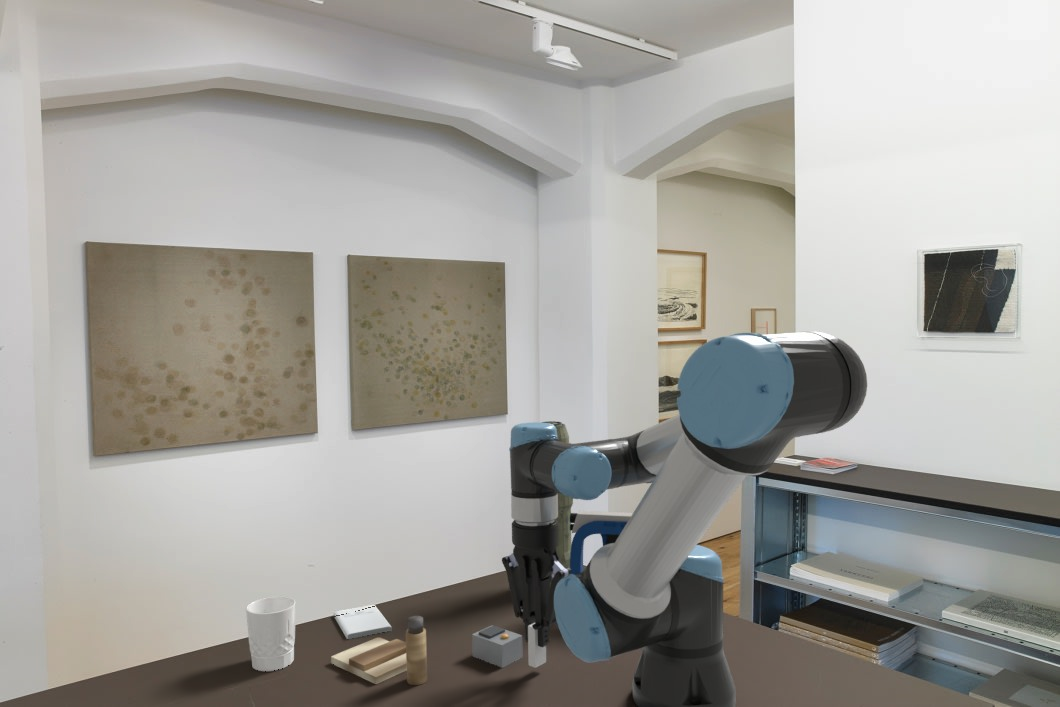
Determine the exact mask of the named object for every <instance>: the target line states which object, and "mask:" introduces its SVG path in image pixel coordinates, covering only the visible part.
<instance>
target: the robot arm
mask: <svg viewBox="0 0 1060 707" xmlns="http://www.w3.org/2000/svg"><path fill="white" fill-rule="evenodd" d="M676 389H677V390H678V391H679V392H680V396H678V397H677V398H676V404H677V409H678V413H679V414H677V415H675V416H672V417H670V418H668V419H665V420H663V421H661V422H659V423H657V424H654V425H652V426H650V427H647V428H645V429H644V430H642V431H639V432H637V433H635V434H632V435H629V436H625V437H624V436H623V437H619V438H610V439H604V440H603V439H602V440H593V441H585V442H579V443H571V442H569V443H564V442H560V441H558V436H557V429H556V427H555V426H554V425H553V424H550V423H541V422H524V423H523V422H522V423H517V424H515V425H514V426H513V427H512V428H511V430H510V447H509V449H508V450H509V462H510V463H509V465H510V467H509V468H510V489H511V490H510V491H511V493H510V496H511V497H510V498H511V500H510V501H511V503H510V509H511V511H510V512H511V514H510V515H511V518H512V519H513V521H512V522H511V541H512V545H514V547H513V550H512V553H511V554H509V555H506V556H504V557H502V558H501V563H502V564H503V567H504V569H505V572H506V574H507V575H506V576H507V580H508V588H509V592H510V595H511V602H512V607H513V612H514V616H515V617H516V618H517V619H518V618H521V619H522V621H523V623H524V632H525V634H524V638H525V642H526V643H528V644H527V648H528V649H527V652H528V654H527V658H528V666H530V667H531V668H535V669H536V668H538V667H539V666H542V665H543V664H546V663H547V646H548V645H549V643H550V630H549V629H550V628H549V627H551V626H553V625H555V624H557V626H558V629H559V631H560V632H559V633H560V635H561V637H562V639H563V641H564V642H565V645H566V646H567V648H568V649H569V650H570V651H571V653H572V654H573V655H574V657H576V658H578V659H580V660H581V661H582V662H584V663H588V664H589V663H590V664H591V663H592V664H593V663H595V662H601V661H607V662H608V661H609V660H611V659H612V658H614V657H617V656H620V655H624V654H627V653H630V652H633V651H636V650H639V649H642V650H641V653H640V657H639V660H638V662H637V666H636V668H635V669H636V670H635V672H634V675H633V679H632V699H633V702H634V703H635V704H636V706H637V707H736V704H737V701H736V695H737V693H736V684H735V682H734V679H733V676H732V674H731V669H730V667H729V664H728V661H727V657H726V655H725V653H724V583H725V579H724V577H723V576H724V575H723V562H722V559H721V557H720V556H719V554H718V553H717V552H715V551H714V550H713V549H711V548H708V547H705V546H702V545H699V543H700V540H701V539H703V537H704V535H705V534H706V532H707V531H708V530H709V528H710V526H712V524H713V523H714V521H715V520H716V519H717V517H718V516H719V514H720V513H721V511H722V510H723V509H724V507H725V506H726V505H727V504H728V502H729V501H730V499H731V497H732V496H733V495H734V493H735V492H736V491H737V490H738V488H739V486H740V485H741V484H742V482H744V480H745V479H746V477H749V476H752V477H753V476H759V475H761V474H764V473H767V471H768V470H769V469H770V468H771V467H772V465H773V464H774V463H775V461H776V460H777V459H778V457H779V456H780V454H782V452H783V451H784V450H785V449H786V446H787V445H788V444H789V443H790V442H791V441H792V440H793V439H795V438H800V437H804V436H810V435H811V436H812V435H815V434H816V435H817V434H824V433H826V432H831V431H834V430H836V429H838V428H839V429H840V427H843V426H844V425H846V424H847V423H848V422H850V421H851V420H853V419H854V417H855V416H856V415H857V414H858V412H859V411H860V409H861V408H862V407H863V405H864V402H865V399H866V396H867V391H868V377H867V372H866V369H865V365H864V363H863V361H862V359H861V358H860V355H859V354H858V353H857V352H856V351H855V350H854V349H853V347H851V346H850V345H849V344H848V343H847V342H845V341H844V340H843V339H840V338H839V337H836V336H835V335H832V334H829V333H825V332H820V331H799V332H783V333H769V334H760V333H756V332H737V333H734V334H730V335H727V336H720V337H717V338H714V339H711V340H708V341H706V342H705V343H703V344H702V345H700V346H699V347H698V348H697V349H695V350H694V351H693V352H692V353H691V355H690V356H689V357H688V359H687V360H686V362H685V363H684V365H683V367H682V369H681V372H680V375H679V377H678V381H677V388H676ZM640 484H650V485H649V487H647V490H646V492H645V493H644V495H643V497H642V498H641V500H640V502H639V503H638V504H637V506H636V508H635V510H634V512H632V513H633V514H632V516H631V517H630V519H629V521H628V522H627V524H626V526H625V527H624V529H623V530H622V532H621V534H620V535H619V537H618V538H617V540H616V542H615V543H611V544H607V545H605V546H603V545H602V546H601V547H600V548H598V549H597V550H596V551H595V553H594V554H593V555H592V557H591V559H590V560H589V562H588V564H587V565H586V567H585V568H584V569H583V572H581V573H579V574H576V575H574V574H571V569H570V568H569V567H567V568H564V567H563V566H562V565H561V564H560V563H559V556H558V554H557V550H556V547H557V544H558V541H559V527H558V521H557V520H556V518H557V517H558V493H561V494H563V495H566V496H567V497H571V498H573V500H581V501H592V500H595V499H598V497H600V496H601V495H602V494H603V493H605V492H606V491H607V490H612V489H618V488H620V487H621V488H622V487H629V486H634V485H640ZM552 571H553V574H552ZM552 577H553V579H552ZM551 580H552V582H551ZM550 582H551V586H550Z"/></svg>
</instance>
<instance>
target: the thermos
mask: <svg viewBox="0 0 1060 707" xmlns="http://www.w3.org/2000/svg"><path fill="white" fill-rule="evenodd" d="M540 423H550V424H553V425H554V426H555V427H556V429H557V436H558V441H560V442H564V443H570V435H569V432H568V429H567V426H566V424H565V423H563V422H562V421H555V420H554V421H542V422H540ZM573 505H574V499H573V498H571V497H567V496H566V495H563V494H561V493H558V517H557V518H556V520H557V521H558V527H559V541H558V544H557V547H556V550H557V554H558V556H559V563H560V564H561V565H562V566H563V567H564V568H567V567H569V568H570V552H571V544H572V531H570V524H572V523H570V513H572V506H573ZM552 574H553V571H552ZM552 579H553V577H552ZM551 582H552V580H551ZM551 582H550V586H551Z"/></svg>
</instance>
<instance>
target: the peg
mask: <svg viewBox="0 0 1060 707" xmlns="http://www.w3.org/2000/svg"><path fill="white" fill-rule="evenodd" d="M405 642H406V664H407V670H406V683H407V684H409V685H411V686H419V685H423V684H425V683H427V681H428V662H427V661H428V658H427V655H428V654H427V629H426V628H424V617H423V616H420V615H413V616H409V617H408V618H407V629H406V630H405Z"/></svg>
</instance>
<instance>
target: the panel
mask: <svg viewBox="0 0 1060 707" xmlns="http://www.w3.org/2000/svg"><path fill="white" fill-rule="evenodd" d="M330 664H331V665H333V664H334V665H333V666H335V667H338V668H340V669H342V670H344V671H347V672H348V673H351V674H353V675H354V676H357V677H359V678H362V679H364V680H366V681H367V682H369V683H372V684H375V685H378V684H380V683H382V682H386V681H387V680H389V679H392V678H393V677H395V676H397V675H400V674H401V673H404V672H407V664H406V641H403V640H401V639H398V638H395V639H392V640H390V641H389V640H387V639H385V638H383V637H380V636H379V637H375V638H373V639H370V640H367V641H366V642H363V643H361V644H358V645H356V646H353V647H350V648H348V649H345V650H343V651H341V652H338V653H336V654H334V655H331V656H330Z"/></svg>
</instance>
